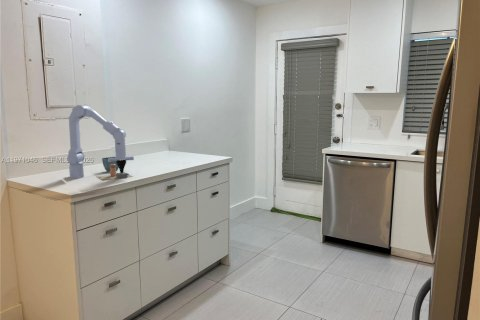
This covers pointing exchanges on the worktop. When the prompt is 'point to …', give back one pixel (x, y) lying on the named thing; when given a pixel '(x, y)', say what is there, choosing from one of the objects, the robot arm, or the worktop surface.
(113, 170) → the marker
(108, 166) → the flower pot
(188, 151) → the worktop surface
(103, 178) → the clipboard
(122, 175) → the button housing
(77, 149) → the robot arm
